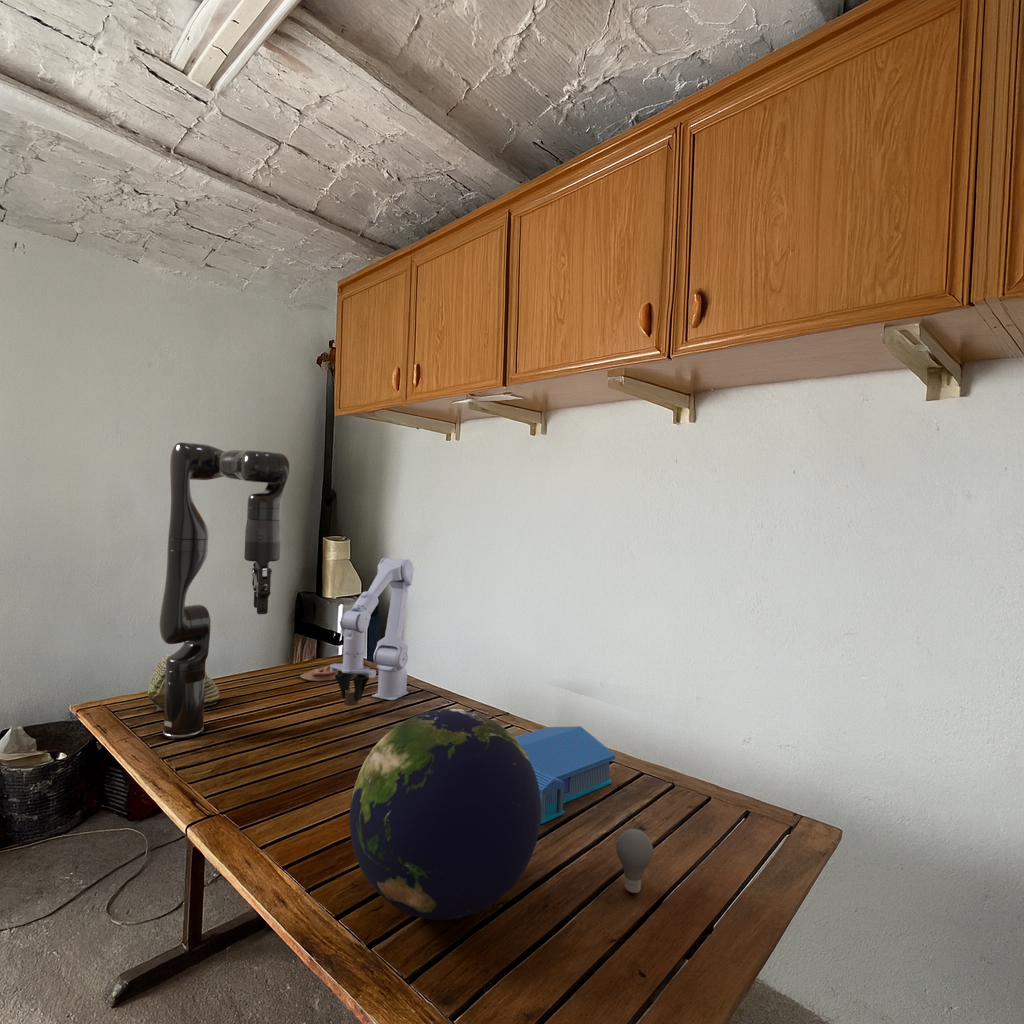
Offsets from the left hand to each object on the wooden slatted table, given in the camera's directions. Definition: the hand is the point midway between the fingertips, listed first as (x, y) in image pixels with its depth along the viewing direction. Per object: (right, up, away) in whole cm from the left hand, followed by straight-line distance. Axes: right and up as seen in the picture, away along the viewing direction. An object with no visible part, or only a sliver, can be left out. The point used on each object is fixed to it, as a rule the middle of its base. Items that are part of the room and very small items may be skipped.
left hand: (260, 610), depth 144 cm
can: (+11, -33, +40) cm, 53 cm away
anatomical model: (-9, -35, +76) cm, 84 cm away
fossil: (-39, -34, +41) cm, 66 cm away
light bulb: (+77, -41, -38) cm, 96 cm away
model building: (+60, -40, -4) cm, 72 cm away
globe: (+46, -40, -43) cm, 75 cm away
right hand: (+11, -32, +40) cm, 52 cm away
